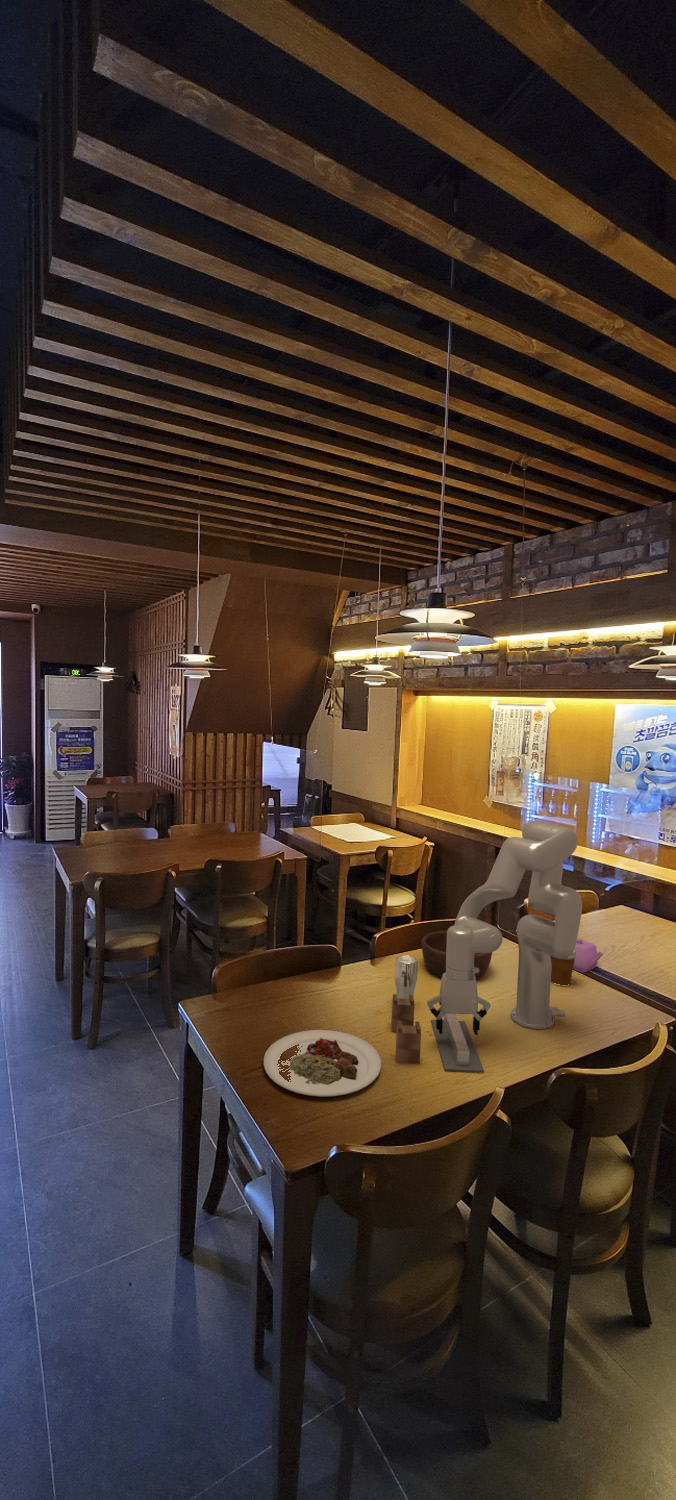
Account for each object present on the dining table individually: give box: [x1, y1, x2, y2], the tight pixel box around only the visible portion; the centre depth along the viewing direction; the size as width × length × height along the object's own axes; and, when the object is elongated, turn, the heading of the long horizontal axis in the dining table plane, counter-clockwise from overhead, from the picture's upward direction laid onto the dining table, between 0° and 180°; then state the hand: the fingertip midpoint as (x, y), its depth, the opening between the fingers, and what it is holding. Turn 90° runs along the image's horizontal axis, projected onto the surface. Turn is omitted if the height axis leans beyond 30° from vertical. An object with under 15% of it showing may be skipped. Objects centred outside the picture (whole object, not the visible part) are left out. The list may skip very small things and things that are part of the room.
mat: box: [430, 1019, 485, 1074], centre depth 173 cm, size 10×26×1 cm, turn 179°
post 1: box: [390, 993, 415, 1033], centre depth 181 cm, size 6×4×9 cm, turn 89°
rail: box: [443, 1014, 469, 1066], centre depth 173 cm, size 3×22×4 cm, turn 179°
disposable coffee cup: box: [550, 949, 577, 985], centre depth 218 cm, size 10×10×12 cm
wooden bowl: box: [421, 930, 493, 981], centre depth 225 cm, size 25×25×10 cm
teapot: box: [573, 937, 604, 974], centre depth 233 cm, size 18×10×10 cm, turn 38°
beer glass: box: [394, 955, 418, 999], centre depth 195 cm, size 7×7×15 cm
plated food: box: [263, 1029, 382, 1097], centre depth 161 cm, size 30×30×3 cm
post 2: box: [395, 1021, 422, 1065], centre depth 165 cm, size 6×4×9 cm, turn 89°
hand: (457, 1032), depth 174 cm, fingers open, 9 cm apart
